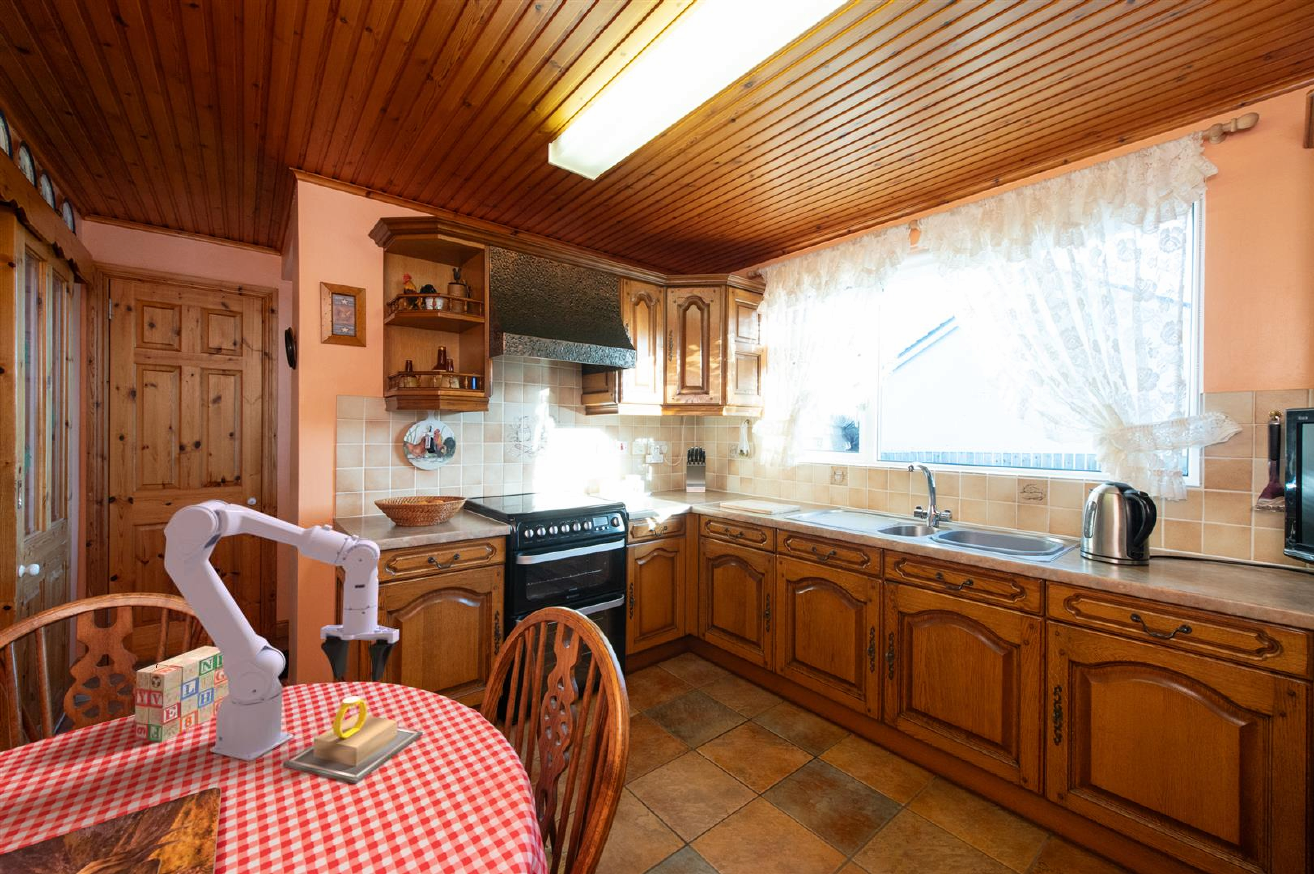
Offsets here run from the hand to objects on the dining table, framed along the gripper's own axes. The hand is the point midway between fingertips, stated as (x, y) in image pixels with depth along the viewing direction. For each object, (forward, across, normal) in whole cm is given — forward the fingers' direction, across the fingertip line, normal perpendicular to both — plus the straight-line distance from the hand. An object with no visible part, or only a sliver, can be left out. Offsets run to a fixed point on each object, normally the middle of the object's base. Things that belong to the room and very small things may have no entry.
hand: (358, 678), depth 101 cm
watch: (+6, +4, -8) cm, 11 cm away
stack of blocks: (+10, -33, +2) cm, 34 cm away
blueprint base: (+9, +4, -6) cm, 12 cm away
